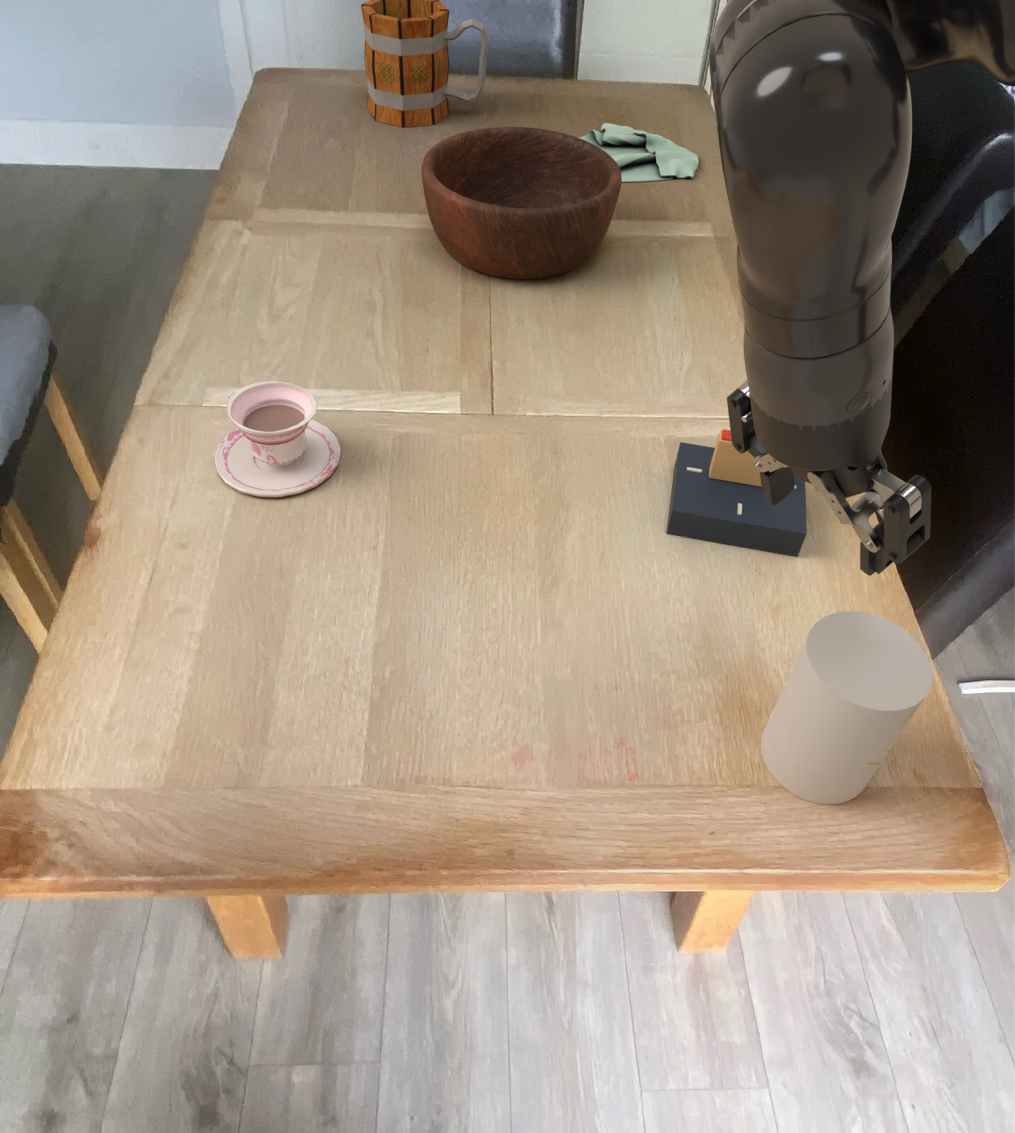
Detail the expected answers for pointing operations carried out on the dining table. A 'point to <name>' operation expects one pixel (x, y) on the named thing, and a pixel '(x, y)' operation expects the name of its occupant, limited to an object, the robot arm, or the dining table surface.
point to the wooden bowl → (520, 199)
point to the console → (732, 508)
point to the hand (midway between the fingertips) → (826, 528)
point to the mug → (412, 61)
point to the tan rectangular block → (732, 463)
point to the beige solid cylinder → (844, 706)
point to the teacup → (275, 442)
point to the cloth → (644, 154)
